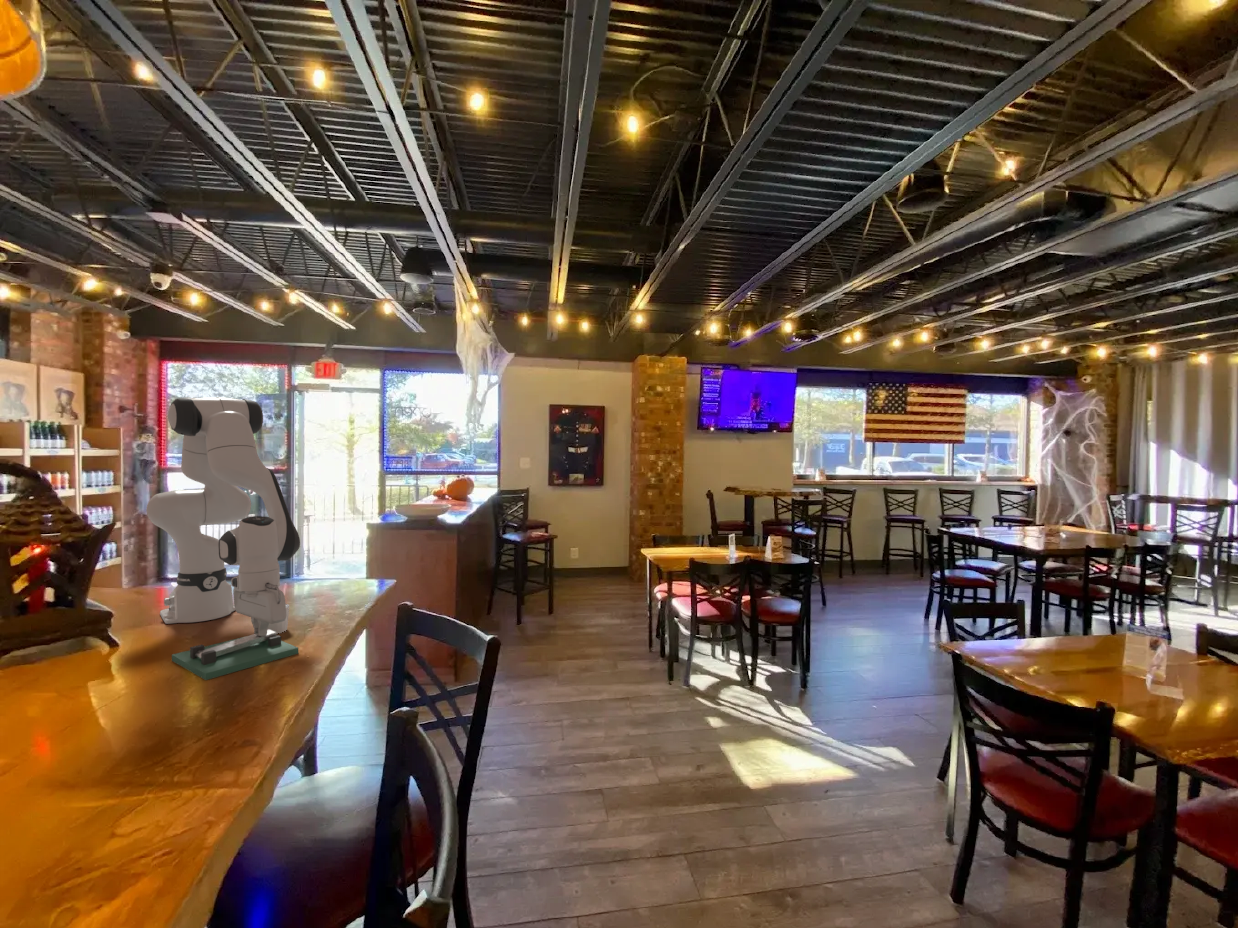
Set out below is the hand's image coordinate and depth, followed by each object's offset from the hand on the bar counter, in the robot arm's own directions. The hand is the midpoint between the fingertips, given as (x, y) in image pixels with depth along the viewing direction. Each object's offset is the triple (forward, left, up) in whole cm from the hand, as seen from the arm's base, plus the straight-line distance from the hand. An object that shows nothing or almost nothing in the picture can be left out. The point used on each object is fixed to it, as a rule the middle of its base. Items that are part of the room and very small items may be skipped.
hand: (260, 634), depth 143 cm
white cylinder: (-14, +10, -4) cm, 17 cm away
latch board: (-1, -5, -4) cm, 7 cm away
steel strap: (-1, -5, -2) cm, 5 cm away
